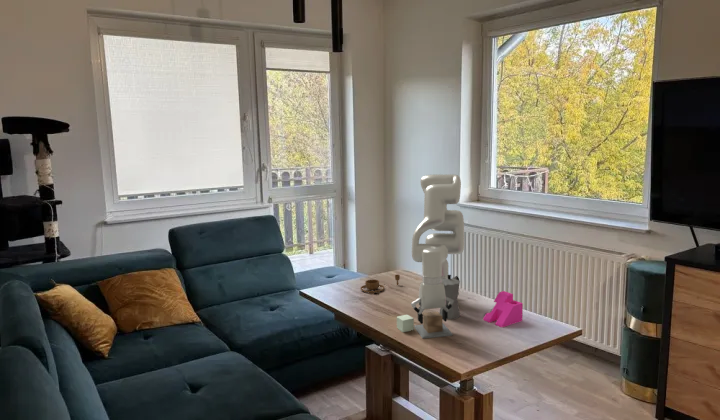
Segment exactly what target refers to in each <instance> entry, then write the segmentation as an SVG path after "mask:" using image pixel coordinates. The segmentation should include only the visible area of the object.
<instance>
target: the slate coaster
mask: <svg viewBox="0 0 720 420" xmlns="http://www.w3.org/2000/svg"><path fill="white" fill-rule="evenodd" d="M442 324H443V331H441V332H432V333H428V332H427V331H426V330H425V329H424V327H423V324H414V329H415V331H416V332H417V333H418V334H419V335H420V337H421V339H432V338H441V337H451V336H453V333H452V331H451V330H450V329H449V328H448V327H447V326H446V324H444V322H442Z"/></svg>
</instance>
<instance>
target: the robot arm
mask: <svg viewBox="0 0 720 420" xmlns="http://www.w3.org/2000/svg"><path fill="white" fill-rule="evenodd" d="M461 185H462V181H461V177H460V176H459V175H458V174H454V173H452V174H451V173H450V174H426V175H423V176H422V177H421V178H420V187H421V189H422V191H423V193H424V201H423V202H424V204H423V205H424V206H423V207H424V208H423V219H422V221H421V222H420V223H419V224H418V225H417V227H415V230H414V231H413V234H412V237H411V239H412V240H411V257H412V259H413V261H414V262H416V263H421V265H422V270H421V272H422V274H421V275H422V279H421V280H422V281H421V282H420V285H419V290H418V298H416V299H415V300H414V301H412V302H411V303H410V305H411V308H412V309H413V310H414V311H415V312H416V313H417V321H418V322H419V323H420V325H422V324H423V313H424V311H425V310H432V309H433V310H435V309H440V308H443V310H442V321H443V322H447V320H448V319H447V318H448V311H449V309H450V308H451V307H452V304H453V302H454V300H453V299H452V298H449V297H447V296H446V295H445V288H444V284H443V282H442V281H443V279H448V276H447V275H449V262H448V256H449V255H460V254H462V253H464V250H465V221H464V215H463V212H462V211H460V210H456V209H450V210H449V209H448V207H447V205H457V204H458V203H459V201H460V198H461V189H462V187H461ZM429 230H431V231H434V232H433V233H430V234H428V235H427V236H426V237H425V241H424V242H425V243H420V239H421V236H422V235H424V233H426V232H427V231H429ZM435 231H437V232H435ZM438 232H439V233H438ZM441 232H442V233H441ZM443 232H444V233H443ZM448 232H449V233H448ZM450 232H451V233H450ZM452 232H453V233H452ZM459 291H460V290H459ZM459 291H458V296H459V295H460V292H459ZM446 300H447V301H449V303H448V304H447V305H446ZM417 305H419V307H417Z"/></svg>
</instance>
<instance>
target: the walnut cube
mask: <svg viewBox="0 0 720 420" xmlns="http://www.w3.org/2000/svg"><path fill="white" fill-rule="evenodd" d="M439 313H440V312H439V311H429V312H422V314H423V327H424V329H425V330H426V331H427V332H428V333H432V332H441V331H443V324H444V323H443V319H442V316H441V315H440V314H439ZM442 323H443V324H442Z"/></svg>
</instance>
